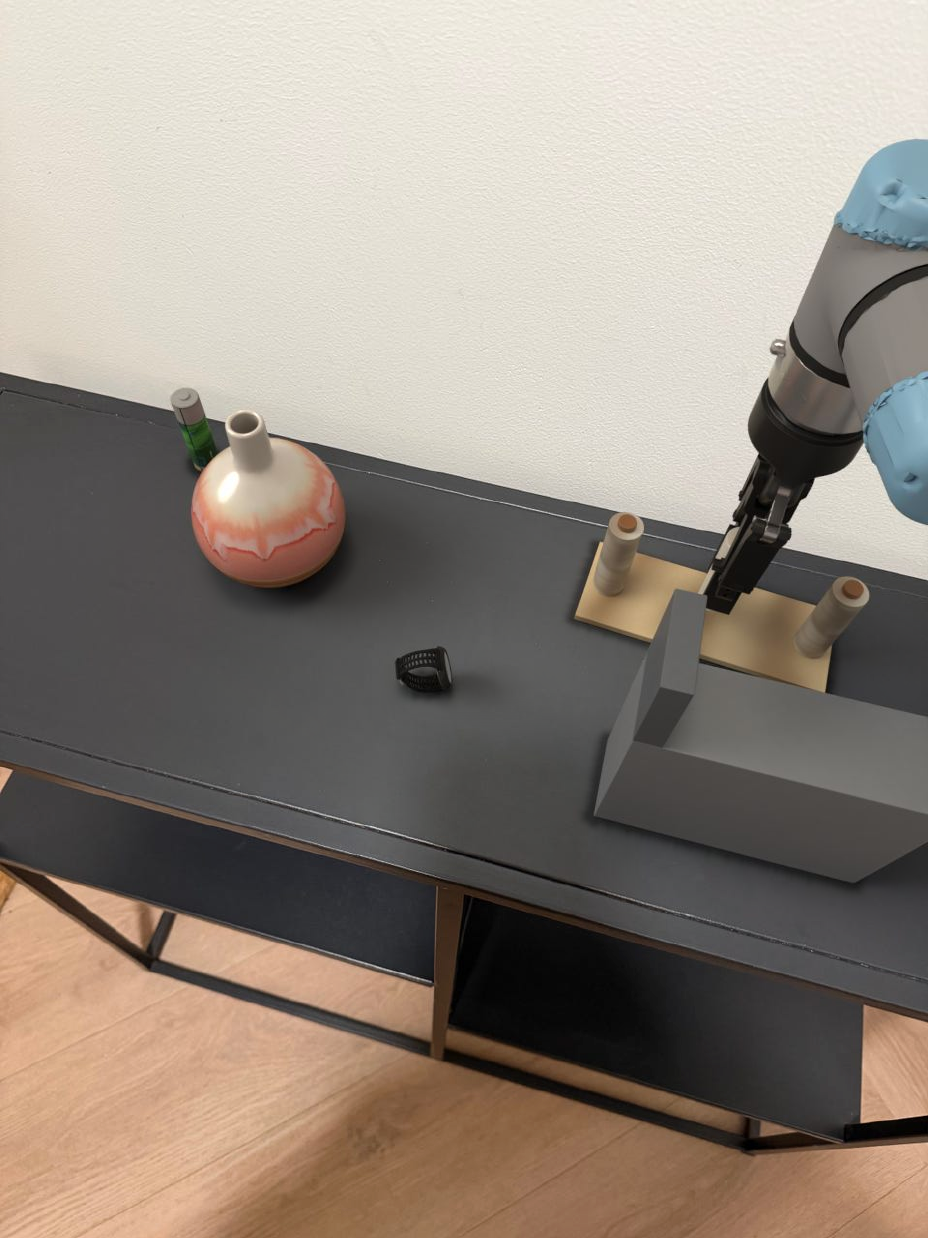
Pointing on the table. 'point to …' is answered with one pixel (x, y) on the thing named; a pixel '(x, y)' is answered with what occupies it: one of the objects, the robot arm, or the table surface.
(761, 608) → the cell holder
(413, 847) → the table surface
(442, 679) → the smartwatch
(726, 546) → the white cell
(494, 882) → the table surface
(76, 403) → the table surface
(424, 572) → the table surface
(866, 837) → the grey stand
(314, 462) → the vase
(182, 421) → the battery
